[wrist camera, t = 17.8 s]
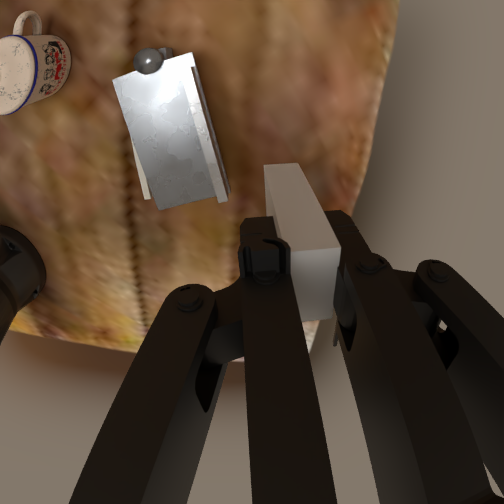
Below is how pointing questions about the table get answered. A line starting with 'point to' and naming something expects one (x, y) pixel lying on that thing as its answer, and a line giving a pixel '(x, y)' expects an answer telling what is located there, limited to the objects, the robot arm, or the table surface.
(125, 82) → the cover
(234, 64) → the table surface
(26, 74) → the teacup with lid
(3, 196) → the table surface
